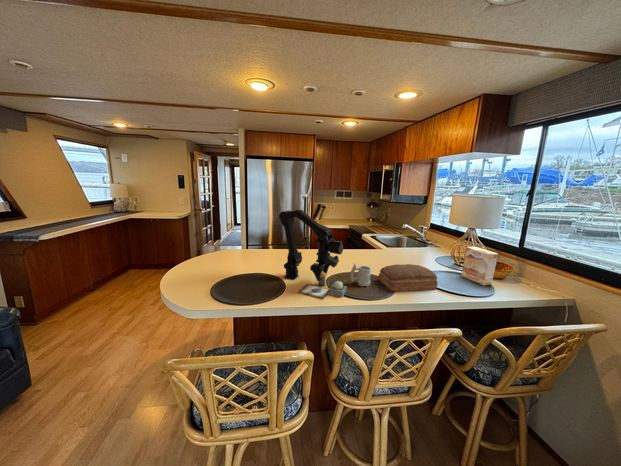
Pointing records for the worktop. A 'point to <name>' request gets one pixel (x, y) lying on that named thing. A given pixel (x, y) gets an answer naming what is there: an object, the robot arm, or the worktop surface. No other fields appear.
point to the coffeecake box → (479, 265)
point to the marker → (322, 279)
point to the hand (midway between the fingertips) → (321, 278)
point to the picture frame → (314, 291)
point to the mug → (361, 275)
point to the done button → (338, 285)
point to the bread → (407, 277)
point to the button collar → (337, 291)
